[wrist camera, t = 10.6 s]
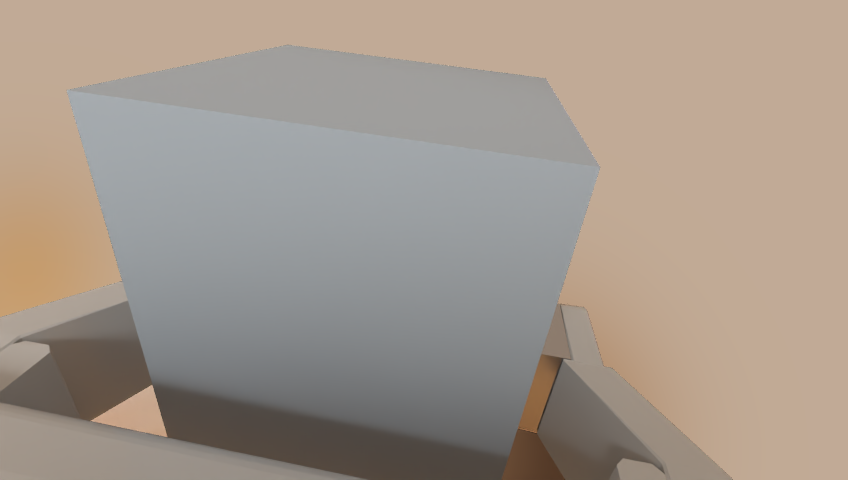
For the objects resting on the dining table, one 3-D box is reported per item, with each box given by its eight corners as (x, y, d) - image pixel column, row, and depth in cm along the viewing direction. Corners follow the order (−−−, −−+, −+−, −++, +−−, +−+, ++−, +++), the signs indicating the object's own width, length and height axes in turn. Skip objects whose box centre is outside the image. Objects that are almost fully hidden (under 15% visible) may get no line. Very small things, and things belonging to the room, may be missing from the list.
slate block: (449, 644, 9) (600, 166, 4) (211, 587, 9) (65, 89, 4) (465, 429, 13) (545, 78, 8) (304, 397, 13) (287, 44, 8)
